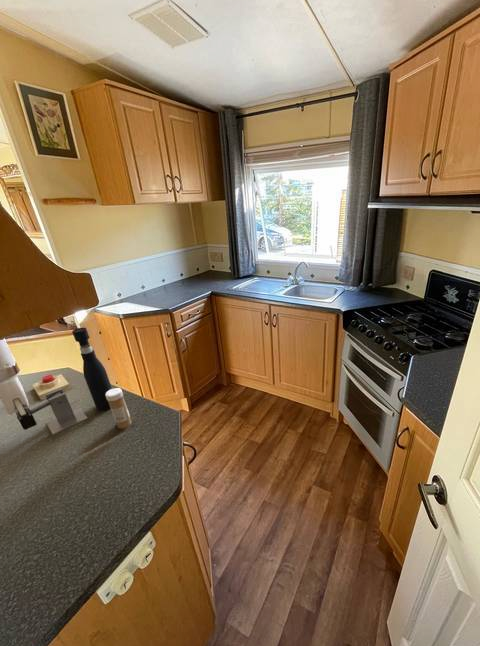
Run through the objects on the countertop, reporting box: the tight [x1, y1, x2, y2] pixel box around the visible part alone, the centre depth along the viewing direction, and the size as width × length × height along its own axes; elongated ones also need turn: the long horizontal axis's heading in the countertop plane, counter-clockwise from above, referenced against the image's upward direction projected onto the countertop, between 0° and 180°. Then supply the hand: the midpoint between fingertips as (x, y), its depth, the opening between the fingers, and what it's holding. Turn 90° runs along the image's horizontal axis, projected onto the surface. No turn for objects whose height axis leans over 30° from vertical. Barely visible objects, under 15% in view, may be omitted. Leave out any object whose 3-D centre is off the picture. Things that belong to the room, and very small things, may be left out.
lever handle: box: [16, 393, 60, 420], centre depth 89 cm, size 12×3×3 cm, turn 137°
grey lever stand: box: [45, 388, 88, 436], centre depth 94 cm, size 10×8×12 cm
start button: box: [41, 374, 54, 383], centre depth 114 cm, size 4×4×2 cm
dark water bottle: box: [71, 327, 113, 412], centre depth 96 cm, size 6×6×30 cm
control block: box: [31, 373, 71, 401], centre depth 115 cm, size 12×10×4 cm
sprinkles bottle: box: [105, 387, 133, 429], centre depth 91 cm, size 5×5×14 cm
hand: (29, 423), depth 88 cm, fingers closed on lever handle, 3 cm apart
